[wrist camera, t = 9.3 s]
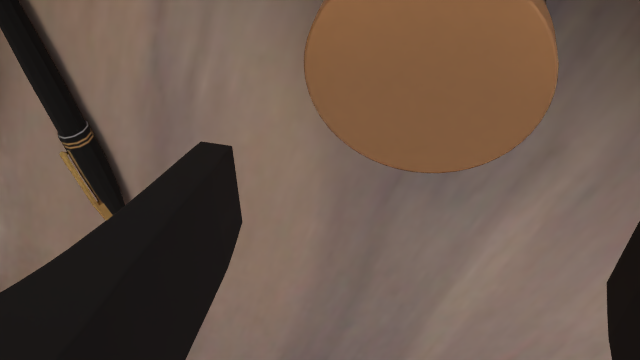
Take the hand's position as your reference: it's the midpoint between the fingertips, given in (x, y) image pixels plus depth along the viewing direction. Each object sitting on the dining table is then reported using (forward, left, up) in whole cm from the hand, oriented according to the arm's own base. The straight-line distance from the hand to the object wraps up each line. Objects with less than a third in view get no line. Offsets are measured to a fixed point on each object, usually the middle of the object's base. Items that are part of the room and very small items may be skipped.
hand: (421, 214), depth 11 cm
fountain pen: (+10, +11, -9) cm, 17 cm away
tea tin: (+1, -1, -9) cm, 9 cm away
